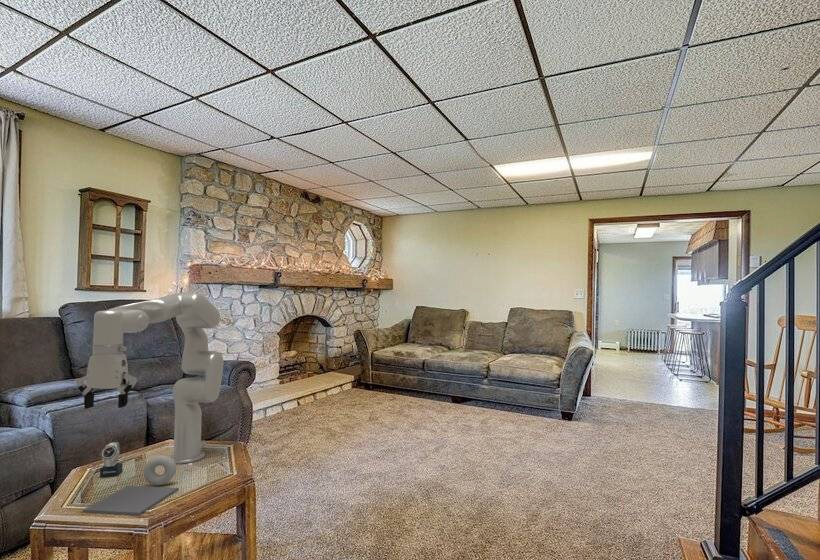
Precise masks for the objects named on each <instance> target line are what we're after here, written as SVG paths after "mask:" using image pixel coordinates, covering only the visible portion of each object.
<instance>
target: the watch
mask: <svg viewBox="0 0 820 560" xmlns="http://www.w3.org/2000/svg"><path fill="white" fill-rule="evenodd" d="M120 451H121V450H120V443H119V442H117V441H116V442H109V443H108V444H107V445H106V446H105V447H104V448H103V449H102V451H101V452H100V457H101V460H102V463H103V464H104V465H103V466H101V468H99V478H100V477H102V478H110V477H118V476H119V475H120V474H122V473H123V465H124V463H123V462H118V461H119V458H120V454H121V453H120Z"/></svg>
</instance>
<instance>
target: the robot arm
mask: <svg viewBox="0 0 820 560" xmlns="http://www.w3.org/2000/svg"><path fill="white" fill-rule="evenodd" d="M173 318H175V319H176V320H175V321H176V323H177V325H178V326H179V328H180V329H181V330H182V332H183V334H184V348H183V354H182V360H181V370H182V372H183V373H184V374H187V375H205V377H183V378H180V379H178V380H176V381H175V383H174V386H173V387H172V396H173V401H174V434H173V436H174V437H173V438H174V439H173V454H172V455H171V456H169V457H171V458H172V459H173V460H174V462H175V464H176V465H179V464H188V463H189V464H190V463H194V462H198V461H199V460H202V459H203V458H204V457H205V456H206V453H205V451H204V450H202V448H203V447H206V445H207V442H206V441H202V413H203V412H202V409H201V406H200V404H199V403H213V402H215V401H216V400H217V399H219V398H218V397H219V396H220V392H221V387H222V379H223V372H224V365H225V364H224V362H225V361H224V358H223V357H224V356H223V355H222V353H220V352H219V351H217V350H208V344H209V338H208V335H207V333H206V331H205V330H204V329H213V328H216V327H217V326H218V325H219V323H220V321H221V314H220V312H219V310H218V308H217V307H216V306H215V305H214V304H213V303H212V302H211V301H210V300H209V299H208V298H207V297H206V296H204V294H201V293H199V292H175V293H171V294H169V295H168V294H167V295H164V296H162V297H158V298H153V299H151V300H144V301H139V302H134V303H128V304H123V305H119V306H115V307H112V308H109V309H107V310H98V311H96V312H95V313H94V315H93V336H92V339H93V340H92V355H91V356H90V357H89V360H88V363H87V369H86V375H84V376H82V377H80V378H78V379H76V380H75V383H76V384H75V385H77V387H78V390H79V391H80V392H81V394H82V396H83V406H84V409H85V410H87V409H90V408H93V407H94V406H95V394H94V392H95V390H98V389H99V390H100V389H101V390H102V389H103V390H104V389H105V390H106V389H107V390H110V389H116V390H117V391H118V392H119V393H120V394H118V399H117V401H118V403H117V408H119V409H122V408H124V407H127V404H128V402H129V401H128V398H129V393H130V392H131V391H132V389H134V388H135V385H136V384H137V382H138V378H137V377H135V376H133V375H130V374H129V367H128V359H127V355H126V354H125V353H124V352H126V351H127V349H128V348H127V346H124V334H127V333H129V334H132V333H135V334H136V333H141V332H142V331H145V329H147V327H148V326H149V324H156V323H162V322H165V321H167V320H168V321H169V320H170V319H173Z"/></svg>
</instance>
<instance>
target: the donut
mask: <svg viewBox="0 0 820 560" xmlns="http://www.w3.org/2000/svg"><path fill="white" fill-rule="evenodd" d="M159 466H162V467H163V468H164V472H163V473H162V474H157V472H156V468H157V467H159ZM176 471H177V464H175V462H174V460H173V459H172V458H171V457H170V456H169V455H166V454H158V455H156V456H155V455H154V456H153V457H151V458H150V459H149V460H148V461H146V463H145V465H144V467H143V471H142V473H143V478H144V480H145V481H146V482H147V483H148V484H149V485H152V486H154V487H161V486H163V485H166V484H168V483H169V482H171V481H172V479H173V478H174V477H175V474H176Z"/></svg>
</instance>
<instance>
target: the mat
mask: <svg viewBox="0 0 820 560" xmlns="http://www.w3.org/2000/svg"><path fill="white" fill-rule="evenodd" d="M178 491H179V487H169V486H148V485H147V486H146V485H145V486H144V485H126V486H124V487H122V488H121V489H119V490H117V491H115V492H113V493H112V494H110V495H108V496H106V497H104V498H101V499H100V500H98V501H97V502H95V503H93V504H91V505H89V506H87V507H86V508H84V509H82V513H83V512H86V514H100V515H101V514H103V515H123V516H138V515H139V516H141V515H142V514H141V513H143V512H144V513H146V512H147V511H149V510H150V509H152V508H153V507H155V506H156V505H157V504H159V503H161V502H162V501H165V500H166V499H167V498H168V497H171V495H174V494H175V493H176V492H178ZM148 509H149V510H148ZM146 510H147V511H146ZM145 511H146V512H145ZM144 513H143V514H144ZM140 514H141V515H140Z"/></svg>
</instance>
